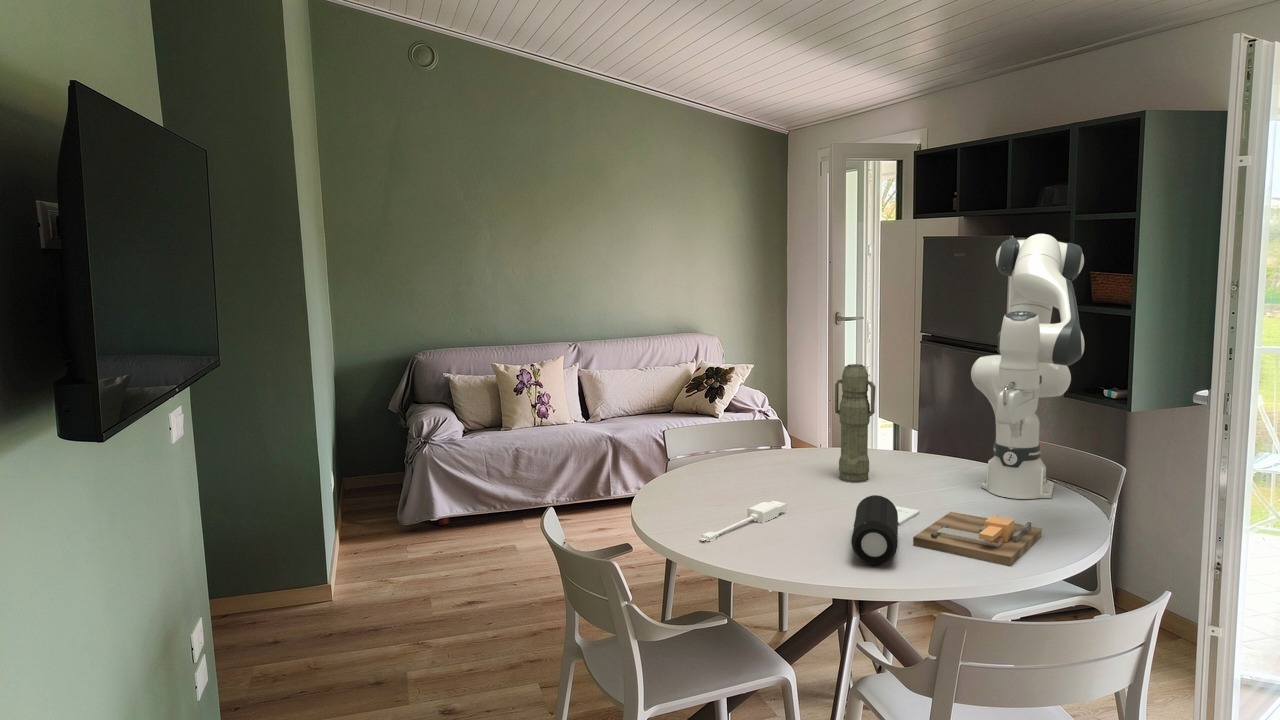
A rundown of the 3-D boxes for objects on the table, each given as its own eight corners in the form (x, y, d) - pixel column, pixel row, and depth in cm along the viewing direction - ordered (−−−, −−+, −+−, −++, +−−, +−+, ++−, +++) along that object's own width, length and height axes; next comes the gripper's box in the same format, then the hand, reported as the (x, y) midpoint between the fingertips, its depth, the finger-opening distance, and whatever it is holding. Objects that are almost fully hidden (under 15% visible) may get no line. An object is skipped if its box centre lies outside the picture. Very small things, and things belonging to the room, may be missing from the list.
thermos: (872, 484, 249) (874, 367, 244) (832, 480, 253) (833, 366, 249) (875, 476, 257) (877, 363, 253) (836, 473, 261) (837, 362, 257)
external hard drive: (869, 522, 217) (889, 510, 226) (899, 528, 211) (919, 515, 221) (869, 516, 216) (889, 504, 226) (899, 522, 211) (919, 509, 220)
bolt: (991, 532, 199) (991, 515, 198) (1013, 536, 196) (1014, 519, 195) (974, 546, 190) (974, 529, 189) (996, 550, 187) (997, 533, 186)
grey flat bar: (942, 531, 201) (942, 527, 201) (1003, 542, 192) (1003, 538, 192) (936, 535, 198) (936, 531, 198) (997, 547, 189) (997, 543, 188)
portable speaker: (856, 529, 210) (856, 491, 208) (897, 532, 207) (898, 493, 205) (850, 566, 185) (850, 523, 184) (897, 570, 183) (898, 526, 181)
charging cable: (693, 544, 204) (693, 531, 204) (772, 509, 227) (772, 497, 226) (709, 549, 201) (709, 536, 200) (787, 512, 223) (787, 500, 223)
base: (950, 519, 216) (950, 505, 215) (1041, 536, 201) (1042, 521, 201) (913, 545, 197) (913, 530, 197) (1010, 566, 183) (1011, 550, 183)
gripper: (1019, 387, 189) (1016, 446, 191) (1044, 375, 204) (1042, 431, 206) (990, 384, 193) (988, 443, 195) (1017, 373, 209) (1015, 428, 210)
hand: (1016, 436), depth 201 cm, fingers closed
